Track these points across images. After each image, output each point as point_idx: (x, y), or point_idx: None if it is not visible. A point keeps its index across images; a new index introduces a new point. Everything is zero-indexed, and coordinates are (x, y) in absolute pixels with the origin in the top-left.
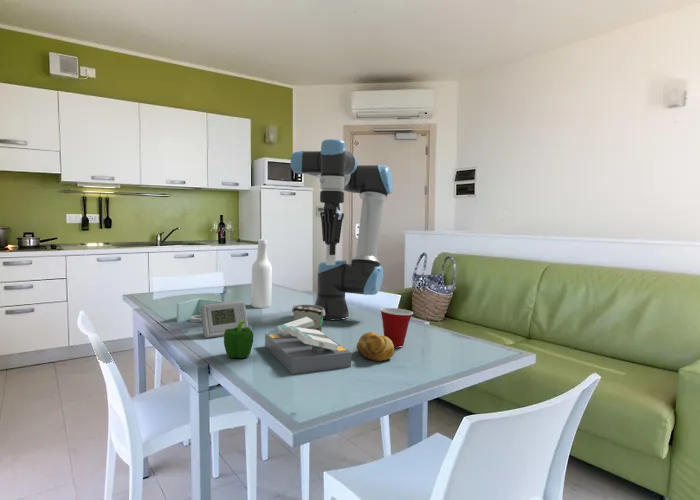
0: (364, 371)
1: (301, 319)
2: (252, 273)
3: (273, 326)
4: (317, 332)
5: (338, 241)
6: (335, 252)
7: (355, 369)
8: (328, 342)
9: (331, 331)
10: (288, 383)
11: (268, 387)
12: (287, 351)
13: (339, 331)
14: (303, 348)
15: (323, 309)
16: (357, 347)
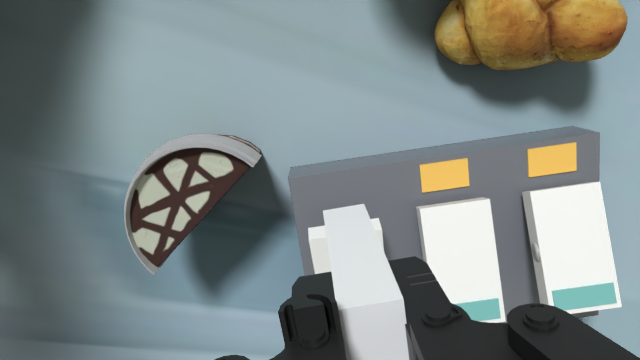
0: (623, 98)
1: (325, 261)
2: None
3: (69, 274)
4: (467, 224)
5: (569, 330)
6: (383, 251)
7: (598, 119)
8: (603, 219)
9: (159, 71)
10: (628, 310)
11: (633, 353)
12: None
13: (162, 37)
14: (511, 268)
15: (236, 154)
16: (472, 64)
